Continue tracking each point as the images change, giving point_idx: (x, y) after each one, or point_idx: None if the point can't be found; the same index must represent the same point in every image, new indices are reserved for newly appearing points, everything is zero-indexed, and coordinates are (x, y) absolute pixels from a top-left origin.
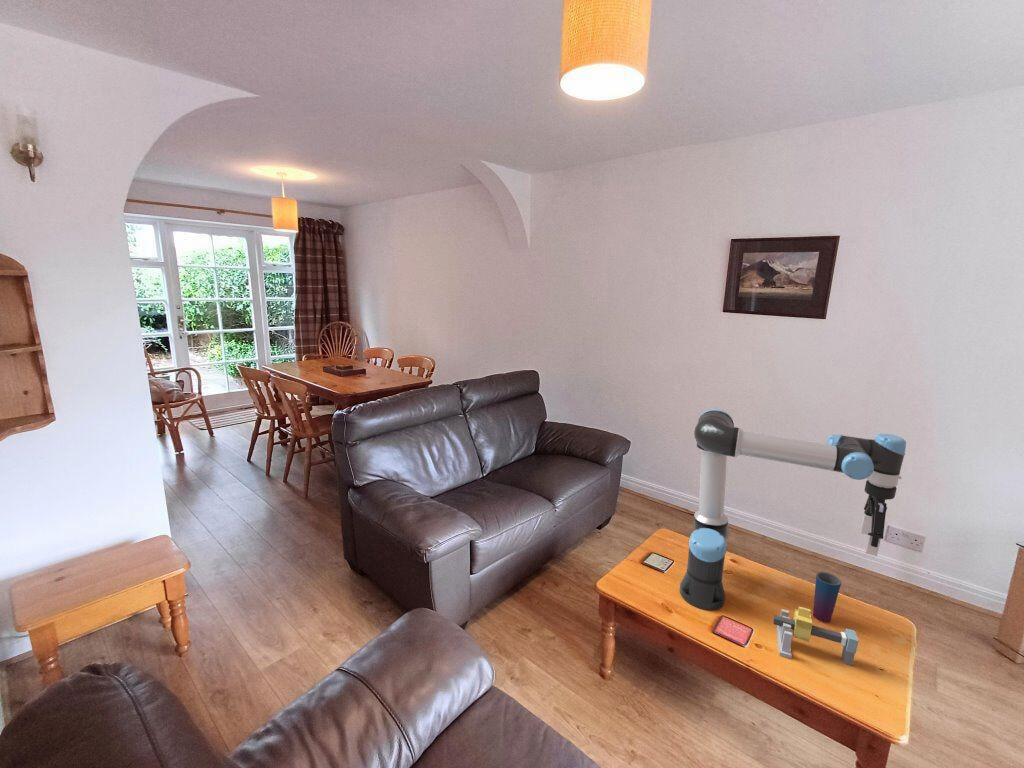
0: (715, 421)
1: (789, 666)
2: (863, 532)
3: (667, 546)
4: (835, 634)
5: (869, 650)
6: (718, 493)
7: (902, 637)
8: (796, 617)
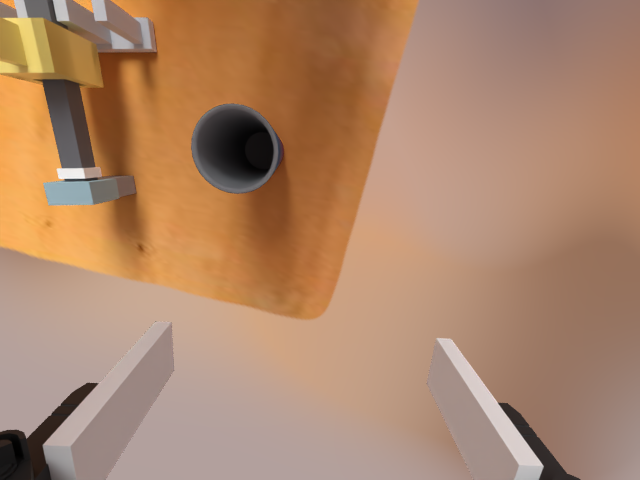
0: None
1: None
2: (437, 355)
3: None
4: (63, 152)
5: (192, 237)
6: None
7: (278, 308)
8: None
